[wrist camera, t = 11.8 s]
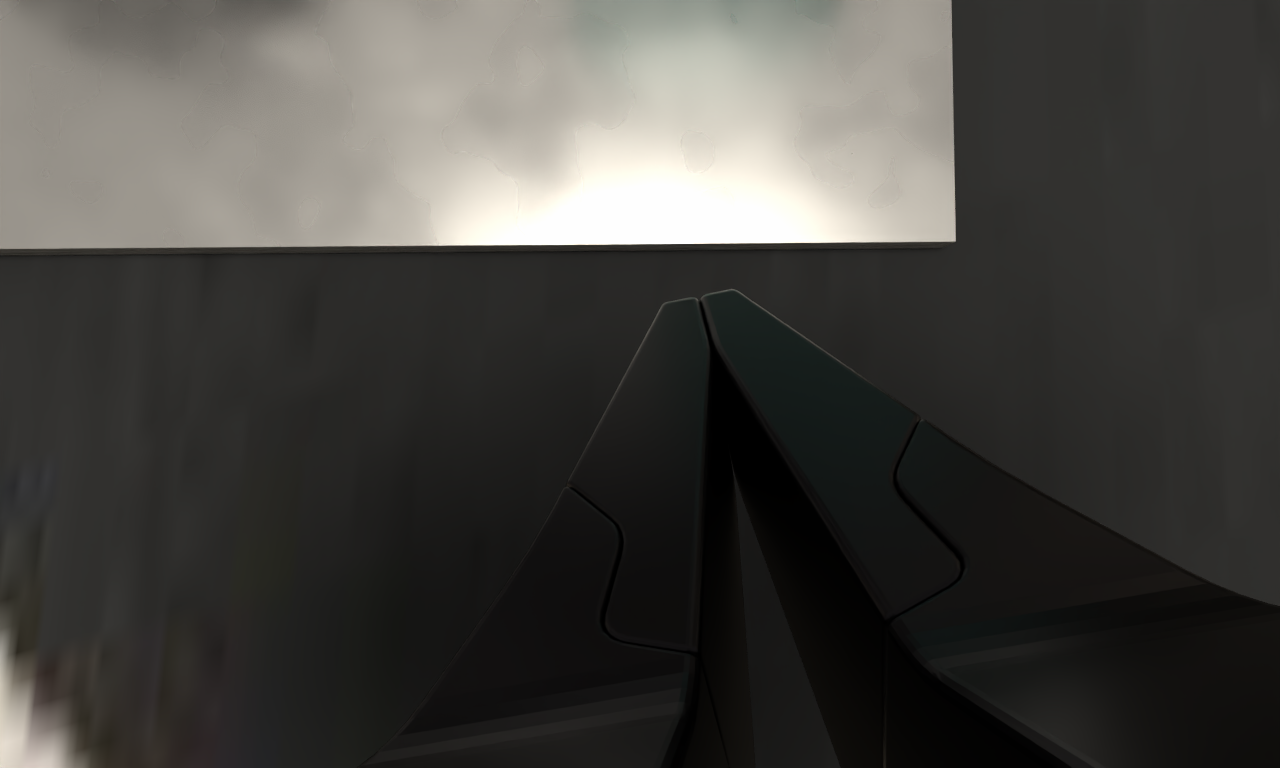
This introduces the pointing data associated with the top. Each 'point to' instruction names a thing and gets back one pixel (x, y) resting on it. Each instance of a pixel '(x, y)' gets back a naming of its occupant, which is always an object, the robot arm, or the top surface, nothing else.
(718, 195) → the mount
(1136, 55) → the top surface
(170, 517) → the top surface
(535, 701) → the robot arm
